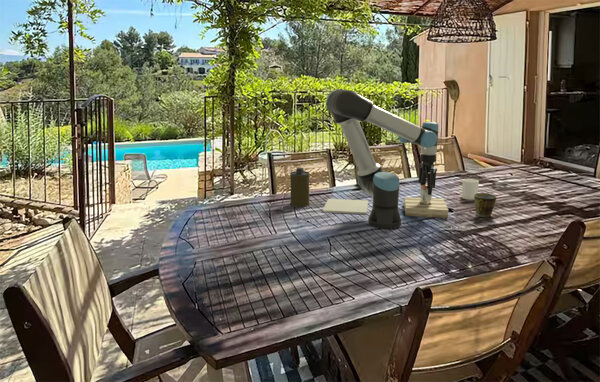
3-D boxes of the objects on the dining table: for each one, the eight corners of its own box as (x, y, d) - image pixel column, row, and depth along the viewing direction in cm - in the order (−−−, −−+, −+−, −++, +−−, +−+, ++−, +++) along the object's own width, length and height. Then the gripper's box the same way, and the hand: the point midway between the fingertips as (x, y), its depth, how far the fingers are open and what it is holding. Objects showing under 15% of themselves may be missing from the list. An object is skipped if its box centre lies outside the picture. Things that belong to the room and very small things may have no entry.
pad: (366, 214, 221) (366, 212, 220) (322, 212, 225) (322, 210, 224) (368, 202, 242) (368, 200, 241) (328, 200, 246) (328, 198, 245)
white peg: (431, 210, 224) (433, 186, 221) (422, 211, 223) (424, 186, 219) (426, 208, 228) (428, 183, 225) (418, 209, 227) (419, 184, 224)
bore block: (447, 217, 214) (448, 210, 213) (405, 215, 218) (405, 208, 217) (442, 206, 233) (443, 198, 232) (404, 204, 237) (404, 197, 236)
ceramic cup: (476, 211, 225) (478, 191, 222) (497, 214, 219) (499, 195, 216) (467, 217, 215) (469, 197, 212) (488, 221, 209) (491, 201, 206)
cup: (463, 199, 245) (465, 182, 242) (457, 194, 256) (459, 177, 254) (479, 200, 244) (480, 182, 242) (472, 194, 256) (474, 177, 253)
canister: (307, 207, 233) (307, 170, 228) (288, 206, 235) (287, 169, 230) (311, 202, 243) (311, 166, 238) (292, 201, 245) (292, 165, 240)
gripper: (445, 156, 211) (441, 203, 217) (426, 150, 227) (423, 194, 233) (431, 157, 209) (427, 204, 215) (413, 151, 226) (410, 195, 232)
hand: (425, 199), depth 224 cm, fingers closed on white peg, 5 cm apart
